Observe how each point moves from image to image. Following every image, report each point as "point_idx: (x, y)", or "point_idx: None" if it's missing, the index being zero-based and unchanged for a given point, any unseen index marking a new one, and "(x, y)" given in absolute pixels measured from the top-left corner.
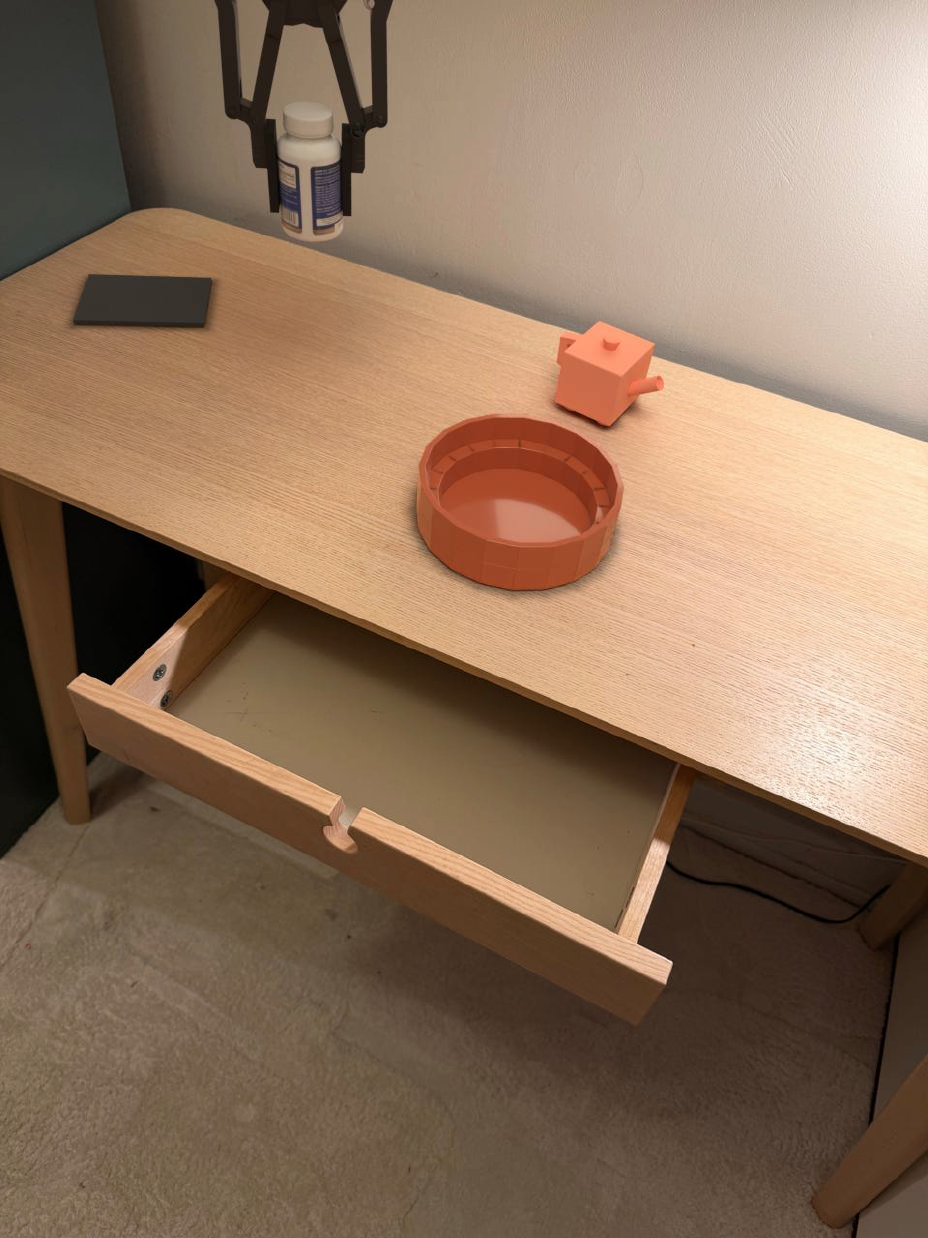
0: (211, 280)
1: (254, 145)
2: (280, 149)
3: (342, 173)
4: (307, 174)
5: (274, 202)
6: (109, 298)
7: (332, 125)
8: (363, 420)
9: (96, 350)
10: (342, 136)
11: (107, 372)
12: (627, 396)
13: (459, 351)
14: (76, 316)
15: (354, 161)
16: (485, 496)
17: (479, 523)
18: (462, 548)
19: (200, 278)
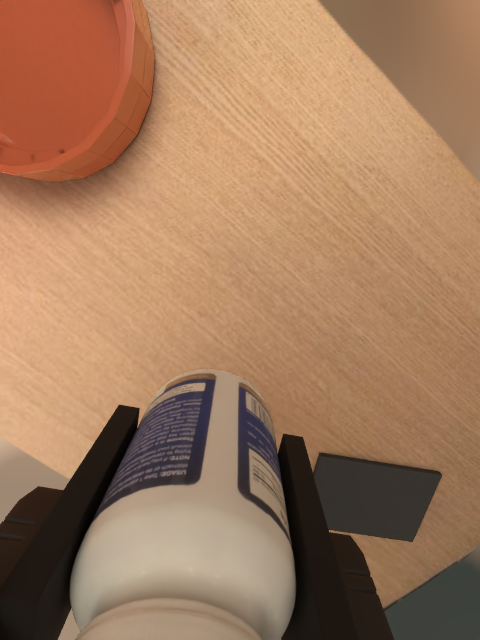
0: None
1: (372, 602)
2: (290, 573)
3: (99, 480)
4: (212, 467)
5: (295, 450)
6: (401, 503)
7: None
8: (185, 276)
9: (427, 430)
10: (32, 603)
11: (424, 394)
12: None
13: (61, 380)
14: (437, 479)
15: (44, 518)
16: (66, 105)
17: (81, 55)
18: None
19: None
